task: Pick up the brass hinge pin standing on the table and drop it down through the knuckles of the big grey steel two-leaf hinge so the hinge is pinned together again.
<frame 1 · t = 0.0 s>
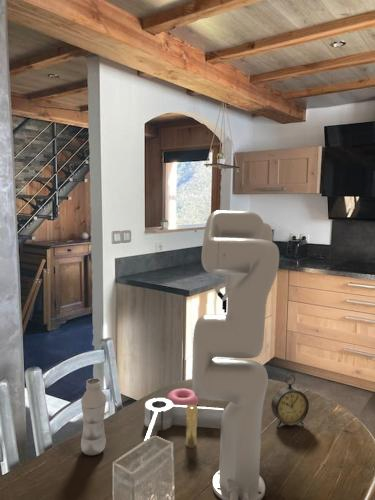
hand: (239, 312, 140), 31 cm above the table, tool pointing down, fingers open, 9 cm apart
alarm clock: (288, 425, 128), on the table
doughnut: (182, 405, 139), on the table
hinge: (158, 422, 127), on the table
hinge pin: (191, 444, 116), on the table
plastic bottle: (93, 452, 112), on the table
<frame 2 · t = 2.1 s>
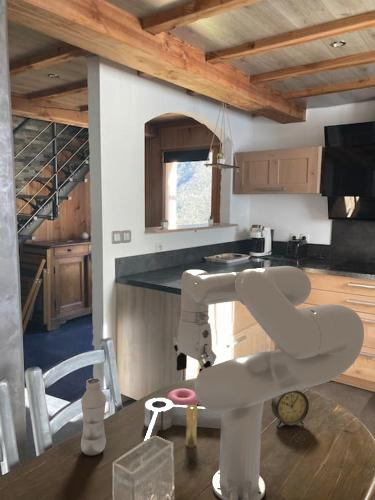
hand: (192, 375, 114), 20 cm above the table, tool pointing down, fingers open, 9 cm apart
nothing on the table moved.
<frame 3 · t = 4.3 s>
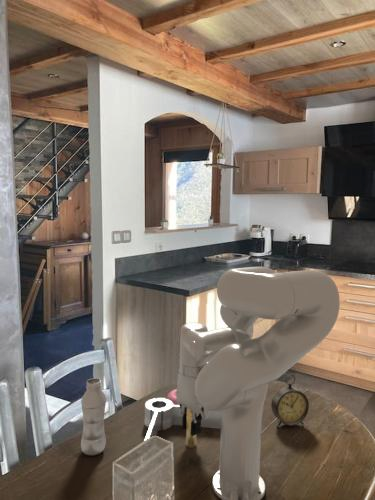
hand: (191, 430, 116), 4 cm above the table, tool pointing down, fingers closed on hinge pin, 3 cm apart
hinge pin: (191, 444, 116), on the table, touching gripper
everything else where it was.
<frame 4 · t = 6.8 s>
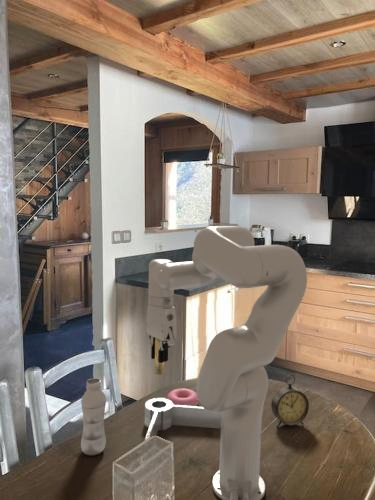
hand: (159, 359, 125), 20 cm above the table, tool pointing down, fingers closed on hinge pin, 3 cm apart
hinge pin: (159, 372, 125), point 16 cm above the table, touching gripper
everything else where it was.
when the fingers open (7 cm above the table, at t = 9.3 s): hinge pin drops 3 cm, resting in hinge.
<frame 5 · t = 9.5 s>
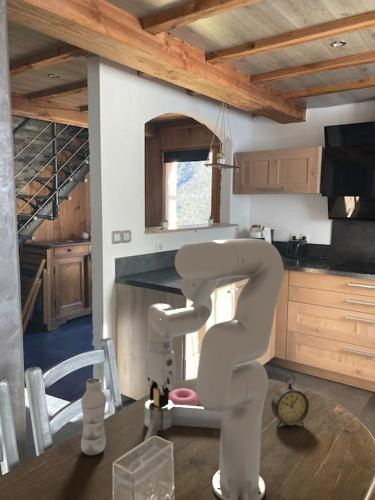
hand: (159, 401, 126), 7 cm above the table, tool pointing down, fingers open, 4 cm apart
hinge pin: (158, 422, 127), resting in hinge, touching gripper
everything else where it was.
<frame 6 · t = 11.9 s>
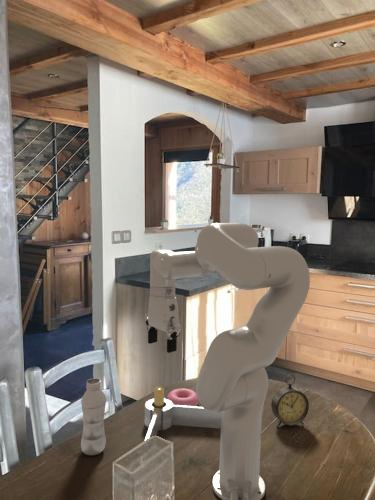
hand: (161, 347, 124), 24 cm above the table, tool pointing down, fingers open, 9 cm apart
hinge pin: (158, 422, 127), resting in hinge
everything else where it was.
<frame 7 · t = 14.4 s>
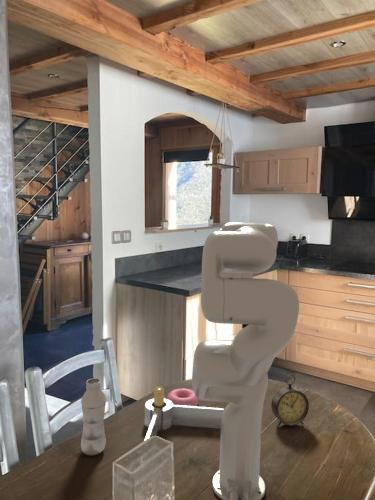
hand: (234, 323, 119), 33 cm above the table, tool pointing down, fingers open, 9 cm apart
nothing on the table moved.
at the end: hinge pin 0.1 cm off-centre on the hinge, point 0.0 cm above the hinge's base; hinge pin tilted 0°; the gripper is holding nothing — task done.
